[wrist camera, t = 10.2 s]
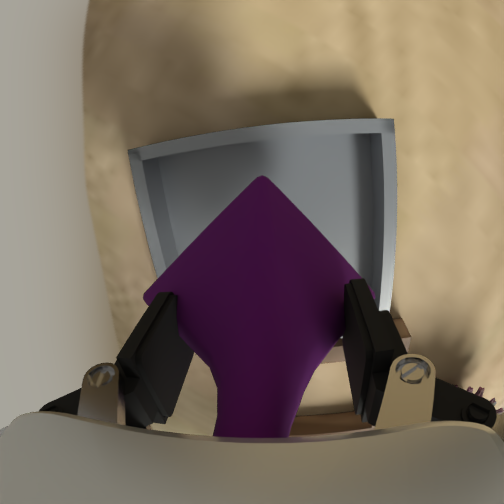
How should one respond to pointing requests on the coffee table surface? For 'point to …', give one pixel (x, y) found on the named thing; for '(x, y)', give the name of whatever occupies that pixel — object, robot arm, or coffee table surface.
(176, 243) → the tray
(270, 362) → the perfume bottle
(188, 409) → the coffee table surface
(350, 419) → the square wooden frame
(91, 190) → the coffee table surface
